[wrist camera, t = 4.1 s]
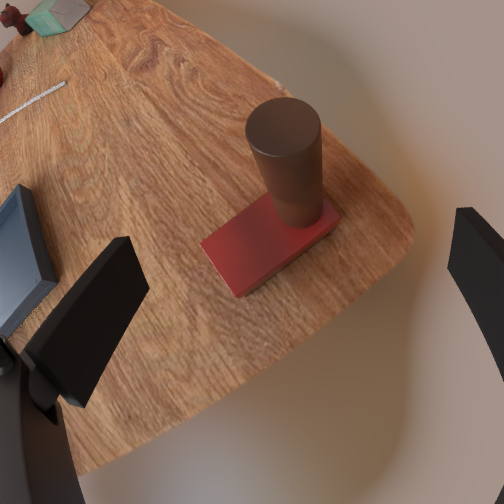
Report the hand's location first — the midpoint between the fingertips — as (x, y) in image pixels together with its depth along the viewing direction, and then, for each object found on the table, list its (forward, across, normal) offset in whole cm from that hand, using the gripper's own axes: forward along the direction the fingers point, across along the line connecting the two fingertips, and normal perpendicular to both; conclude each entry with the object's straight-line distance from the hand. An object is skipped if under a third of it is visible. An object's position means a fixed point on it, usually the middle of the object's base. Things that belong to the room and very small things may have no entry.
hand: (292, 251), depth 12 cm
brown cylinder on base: (+10, -2, -5) cm, 11 cm away
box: (+46, -42, +31) cm, 69 cm away
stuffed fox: (+54, -58, +39) cm, 89 cm away
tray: (+9, -34, -6) cm, 36 cm away
